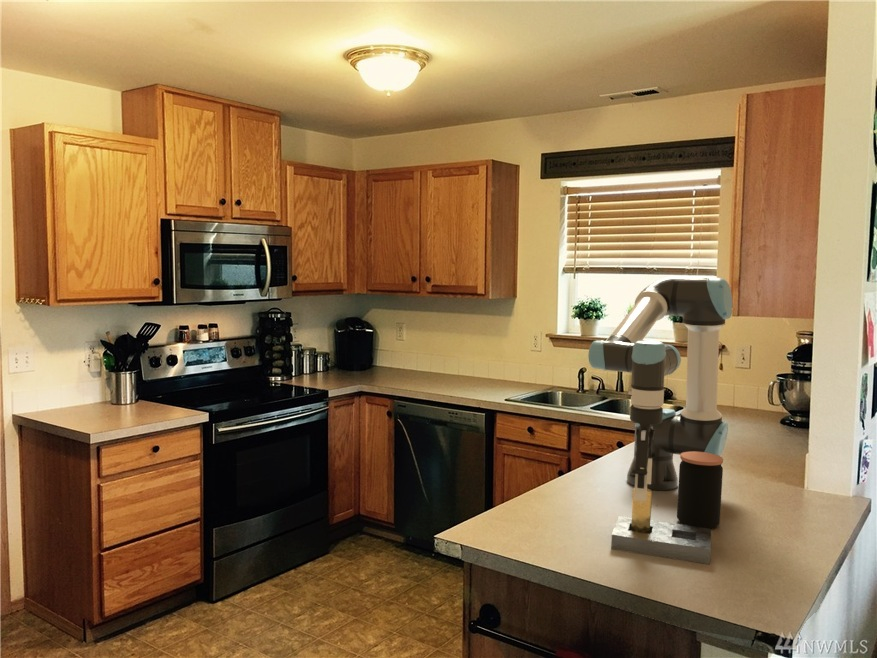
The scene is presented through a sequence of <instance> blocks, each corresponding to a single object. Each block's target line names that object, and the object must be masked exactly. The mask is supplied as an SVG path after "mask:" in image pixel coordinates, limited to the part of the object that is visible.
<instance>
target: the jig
mask: <svg viewBox="0 0 877 658" xmlns="http://www.w3.org/2000/svg"><path fill="white" fill-rule="evenodd" d="M631 522H632V516H631V517H629V516H623V515H618V518H617V520H616V521H615V525H614V528H613V530H612V532H611V542H610V544H611V545H610V549H611V550H614V551H615V550H617V551H623V552H628V553H633V554H634V553H636V554H641V555H642V554H643V555H649V556H655V557H661V558H665V559H666V558H667V559H674V560H679V561H687V562H693V563H700V564H705V565H711V556H712V555H711V554H712V553H711V552H712V529H709V528H702V527H695V526H688V525H682V524H681V523H674V522H673V523H672V522H666V521H658V520H650V534H648V533H641V532H634V531H631Z"/></svg>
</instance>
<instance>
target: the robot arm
mask: <svg viewBox="0 0 877 658" xmlns="http://www.w3.org/2000/svg"><path fill="white" fill-rule="evenodd" d="M733 304H734V303H733V294H732V291H731V287H730V284H729V282H728V281H727V279H724V278H722V277H715V276H714V277H713V276H680V275H679V276H678V275H677V276H676V275H675V276H674V275H673V276H667V277H664V278H661V279H659V280H657V281H656V280H655V282H653V283H651V284H649V285H647V286H646V287H645V288H644V289H642V290H641V291H640V292H639V294H637V296H636V298H635V300H634V305H633V307H631V309H630V310H629V311H628V313H627V314H626V315H625V317H624V318H623V319H622V320H621V322H620V323H619V325H618V326H617V327H616V328H615V329H614V331H613V332H611V334H610V336H609V337H608V338H607V339H605V340H604V339H601V340H593V341H592V343H591V344H590V345H589V349H588V363H589V365H590V367H591V368H593V369H598V370H603V371H609V372H610V371H611V372H623V373H629V374H631V383H630V384H631V385H630V388H631V390H628V393H627V394H628V395H630V404H631V406H630V407H629V408H630V409H629V419H630V422H631V423H634V444H633V445H634V448H633V450H634V452H633V459H632V461H631V464H630V465H629V468H628V470H627V475H626V482H627V483H628V484H629V485H631V486H633V487H634V488H635V495H634V500H635V501H643V502H646V501H647V489H650V490H651V491H669V490H674V489H677V488H678V485H679V477H678V474H677V470H676V467H675V465H674V455H679V456H680V455H681V453H683V452H693V451H695V452H706V453H711V454H715V455H718V456H720V457H722V455H723V451H724V450H725V447H726V443H727V438H728V434H729V433H728V432H729V423H727V422H726V421H724V420H723V414H722V413H721V412H720V411H719V410H718V409H717V407H718V406H717V404H718V382H719V380H718V379H719V378H718V376H719V348H720V347H719V346H720V330H721V329H722V328H723V327H724V326H725V325H726V320H729V319H731V317H732V314H733ZM666 316H674V317H675V316H676V317H682V324H683V325H684V326H685V327H686V328H687V348H686V349H687V350H686V351H687V356H686V360H687V361H686V389H685V391H686V393H685V395H686V396H685V407H684V408H683V409H682V410H681V411H680V415H677V413H676V410H675V409H671V408H663V406H664V401H665V399H664V397H665V388H664V387H665V376H668V375H671V374H673V373H674V372H675V371H677V369H678V368H680V366H681V361H682V358H681V353H680V352H679V350H678V349H677V348H676V347H675V346H673V345H672V344H665V343H663V342H662V341H659V340H645V338H646V336H647V334H649V331H651V329H652V328H653V326H654V325H655V324H656V322H658V321H660V320H662V319H663V318H664V317H666Z"/></svg>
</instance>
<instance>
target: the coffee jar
mask: <svg viewBox="0 0 877 658" xmlns="http://www.w3.org/2000/svg"><path fill="white" fill-rule="evenodd" d="M679 458H680V460H681V461H680V463H679V470H678V472H679V473H678V485H677V490H678V492H677V506H676V507H677V508H676V518H677V520H678V522H679V524H680V525H688V526H695V527H702V528H709V529H711V530H715V529H716V528H717V527H718V526H719V525H720V524H721V509H722V508H721V507H722V493H723V492H722V489H723V488H722V487H723V476H724V474H723V473H724V472H723V471H724V468H723V466H722V465H723V463H724V458H723V457H722V456H718V455H715V454H711V453H706V452H695V451H693V452H683V453H681V455H679Z"/></svg>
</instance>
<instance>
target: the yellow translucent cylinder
mask: <svg viewBox="0 0 877 658" xmlns="http://www.w3.org/2000/svg"><path fill="white" fill-rule="evenodd" d="M652 494H653V490H650V489H647V501H646V502H643V501H635V500H634V495H635V487H633V489H632V504H631V505H632V506H631V518H632V522H631V531H634V532H641V533H648V534H650V520H651V519H652V518H651V515H652V514H651V513H652V498H653V495H652Z"/></svg>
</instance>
